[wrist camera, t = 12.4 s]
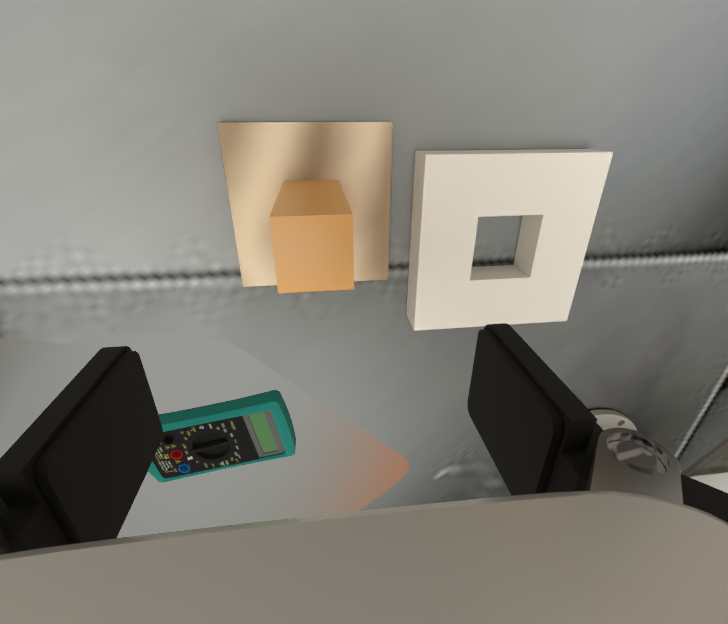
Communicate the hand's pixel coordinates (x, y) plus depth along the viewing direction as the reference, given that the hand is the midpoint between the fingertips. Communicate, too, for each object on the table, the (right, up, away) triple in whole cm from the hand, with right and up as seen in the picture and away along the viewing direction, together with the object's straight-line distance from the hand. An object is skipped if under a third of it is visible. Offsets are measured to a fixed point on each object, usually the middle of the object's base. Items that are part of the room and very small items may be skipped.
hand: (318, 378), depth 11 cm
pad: (-3, +10, +19) cm, 22 cm away
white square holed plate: (+12, +8, +22) cm, 27 cm away
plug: (-3, +10, +18) cm, 21 cm away
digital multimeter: (-14, -10, +29) cm, 33 cm away
